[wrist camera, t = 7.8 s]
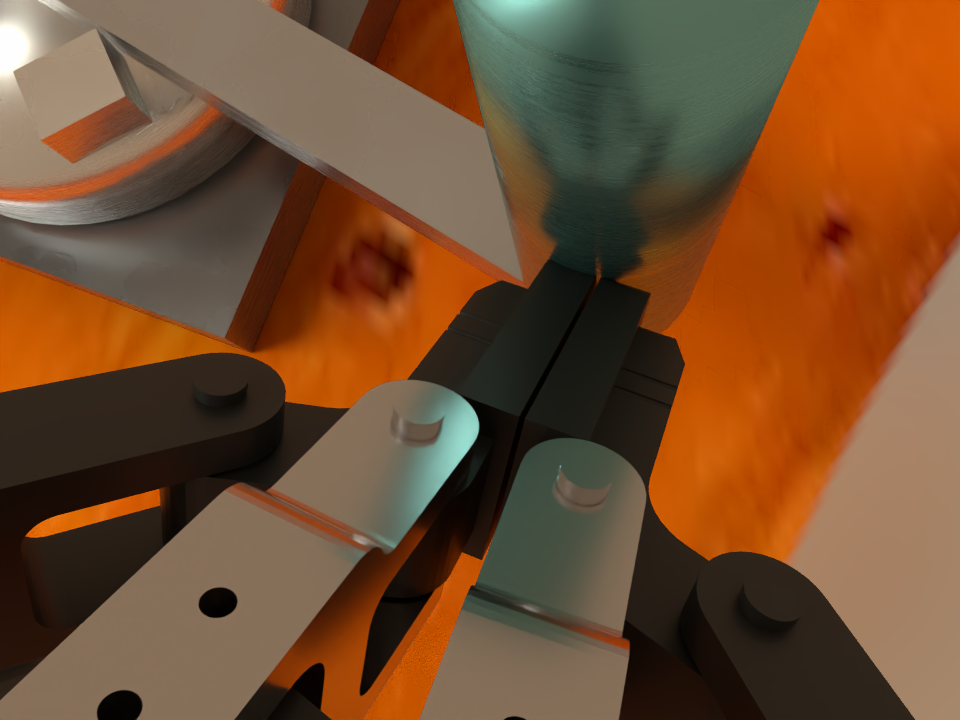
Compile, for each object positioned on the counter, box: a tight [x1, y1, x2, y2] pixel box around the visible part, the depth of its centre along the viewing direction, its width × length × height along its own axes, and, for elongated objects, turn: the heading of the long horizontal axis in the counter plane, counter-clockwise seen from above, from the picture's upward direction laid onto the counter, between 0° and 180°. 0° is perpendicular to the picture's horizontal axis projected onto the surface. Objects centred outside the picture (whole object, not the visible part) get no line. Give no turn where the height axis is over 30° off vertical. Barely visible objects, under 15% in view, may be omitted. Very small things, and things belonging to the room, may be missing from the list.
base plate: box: [0, 0, 400, 353], centre depth 25 cm, size 14×14×2 cm
